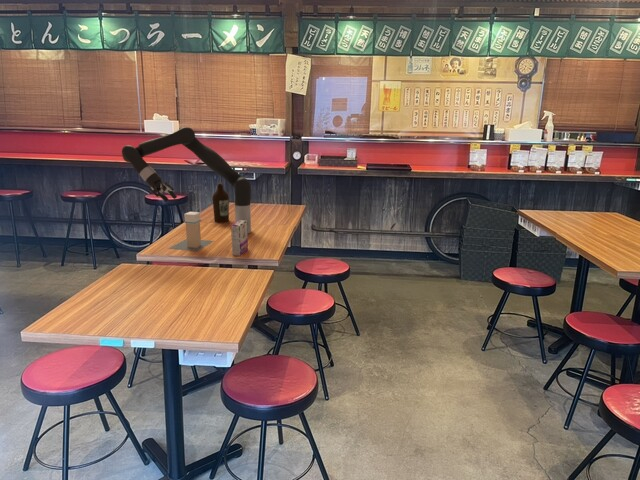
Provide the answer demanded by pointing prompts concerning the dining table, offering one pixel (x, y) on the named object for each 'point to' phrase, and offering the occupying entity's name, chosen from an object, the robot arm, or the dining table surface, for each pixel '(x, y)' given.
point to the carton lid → (192, 217)
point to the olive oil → (221, 204)
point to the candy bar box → (239, 237)
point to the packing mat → (183, 246)
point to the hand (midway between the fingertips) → (171, 199)
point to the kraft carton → (193, 235)
